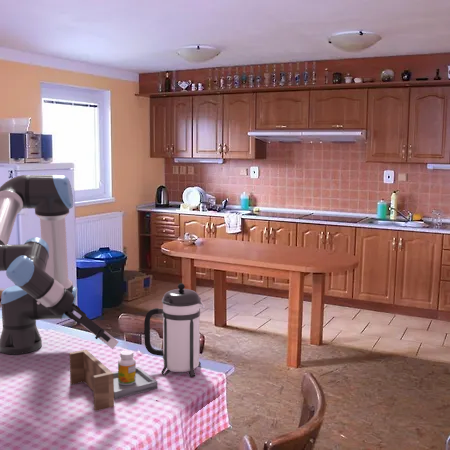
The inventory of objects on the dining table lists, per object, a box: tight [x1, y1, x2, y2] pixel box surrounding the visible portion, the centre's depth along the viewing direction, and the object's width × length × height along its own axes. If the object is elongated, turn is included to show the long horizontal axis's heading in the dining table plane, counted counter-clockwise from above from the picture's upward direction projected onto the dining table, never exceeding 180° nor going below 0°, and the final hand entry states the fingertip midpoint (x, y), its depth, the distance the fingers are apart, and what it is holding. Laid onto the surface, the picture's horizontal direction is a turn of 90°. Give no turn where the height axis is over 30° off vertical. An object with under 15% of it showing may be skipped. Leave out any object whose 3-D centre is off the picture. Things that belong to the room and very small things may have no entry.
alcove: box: [69, 349, 115, 412], centre depth 168 cm, size 22×6×10 cm, turn 33°
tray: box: [112, 366, 158, 400], centre depth 175 cm, size 14×14×2 cm
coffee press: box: [143, 282, 206, 378], centre depth 185 cm, size 17×16×30 cm
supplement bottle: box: [117, 349, 137, 385], centre depth 175 cm, size 5×5×10 cm
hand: (106, 338), depth 170 cm, fingers open, 13 cm apart
